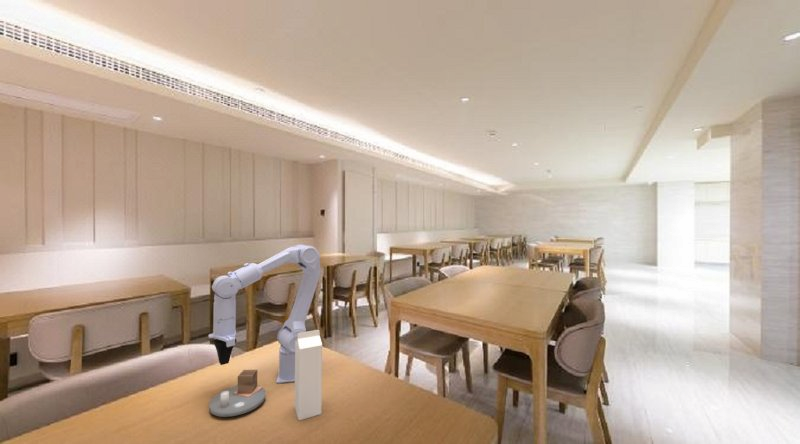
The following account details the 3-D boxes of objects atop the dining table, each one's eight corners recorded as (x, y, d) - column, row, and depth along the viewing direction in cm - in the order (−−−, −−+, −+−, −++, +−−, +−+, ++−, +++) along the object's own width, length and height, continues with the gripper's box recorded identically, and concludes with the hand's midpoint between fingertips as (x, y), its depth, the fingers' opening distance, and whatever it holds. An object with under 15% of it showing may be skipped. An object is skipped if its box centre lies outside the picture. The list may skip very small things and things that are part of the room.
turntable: (239, 384, 97) (239, 369, 97) (276, 393, 92) (276, 377, 92) (197, 409, 84) (197, 392, 84) (236, 421, 79) (237, 403, 79)
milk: (321, 414, 84) (323, 333, 84) (298, 421, 81) (300, 337, 81) (315, 402, 89) (317, 326, 89) (293, 408, 86) (295, 329, 86)
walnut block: (243, 386, 93) (243, 369, 93) (257, 386, 93) (257, 369, 93) (237, 393, 89) (237, 376, 89) (251, 393, 89) (252, 376, 89)
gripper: (203, 314, 94) (203, 358, 94) (214, 326, 83) (214, 377, 83) (229, 309, 99) (229, 352, 99) (243, 321, 88) (242, 369, 88)
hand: (224, 363), depth 91 cm, fingers closed
